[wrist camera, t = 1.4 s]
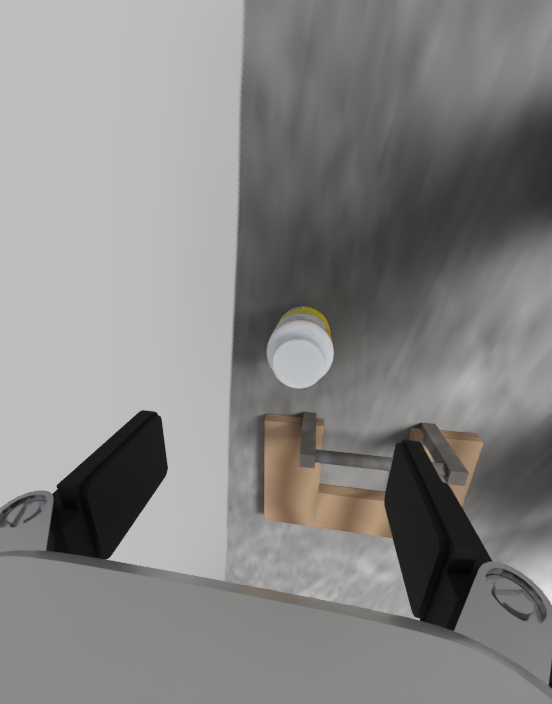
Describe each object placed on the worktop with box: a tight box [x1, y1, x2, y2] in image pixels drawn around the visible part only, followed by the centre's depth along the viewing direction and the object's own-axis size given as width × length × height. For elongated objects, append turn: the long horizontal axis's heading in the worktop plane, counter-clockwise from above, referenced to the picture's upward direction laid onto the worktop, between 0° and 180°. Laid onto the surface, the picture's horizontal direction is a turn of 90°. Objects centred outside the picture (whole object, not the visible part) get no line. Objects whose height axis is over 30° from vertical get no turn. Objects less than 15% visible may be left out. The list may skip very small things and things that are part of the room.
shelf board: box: [264, 412, 484, 538], centre depth 32 cm, size 24×17×8 cm
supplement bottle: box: [267, 306, 334, 388], centre depth 25 cm, size 6×6×10 cm
